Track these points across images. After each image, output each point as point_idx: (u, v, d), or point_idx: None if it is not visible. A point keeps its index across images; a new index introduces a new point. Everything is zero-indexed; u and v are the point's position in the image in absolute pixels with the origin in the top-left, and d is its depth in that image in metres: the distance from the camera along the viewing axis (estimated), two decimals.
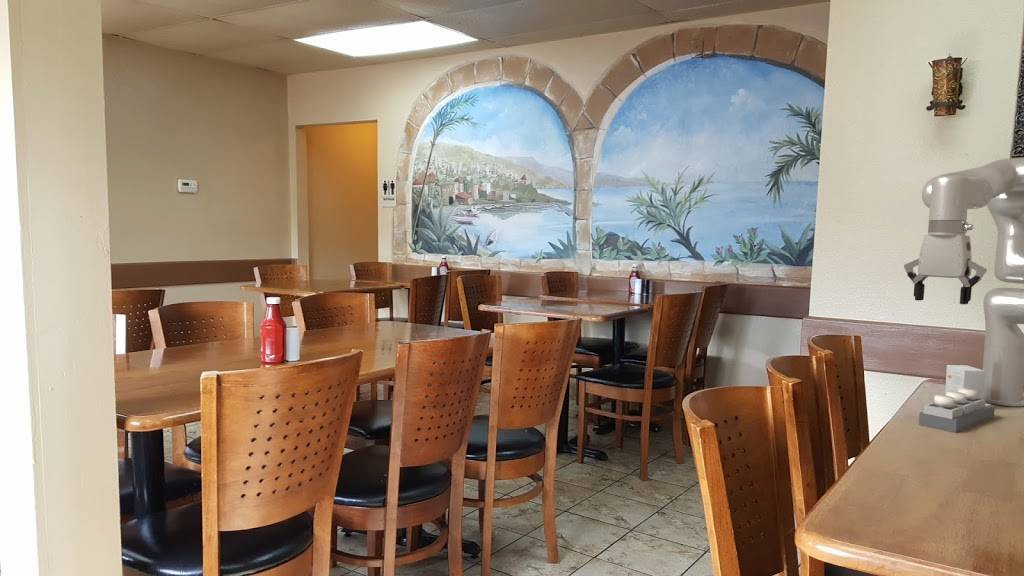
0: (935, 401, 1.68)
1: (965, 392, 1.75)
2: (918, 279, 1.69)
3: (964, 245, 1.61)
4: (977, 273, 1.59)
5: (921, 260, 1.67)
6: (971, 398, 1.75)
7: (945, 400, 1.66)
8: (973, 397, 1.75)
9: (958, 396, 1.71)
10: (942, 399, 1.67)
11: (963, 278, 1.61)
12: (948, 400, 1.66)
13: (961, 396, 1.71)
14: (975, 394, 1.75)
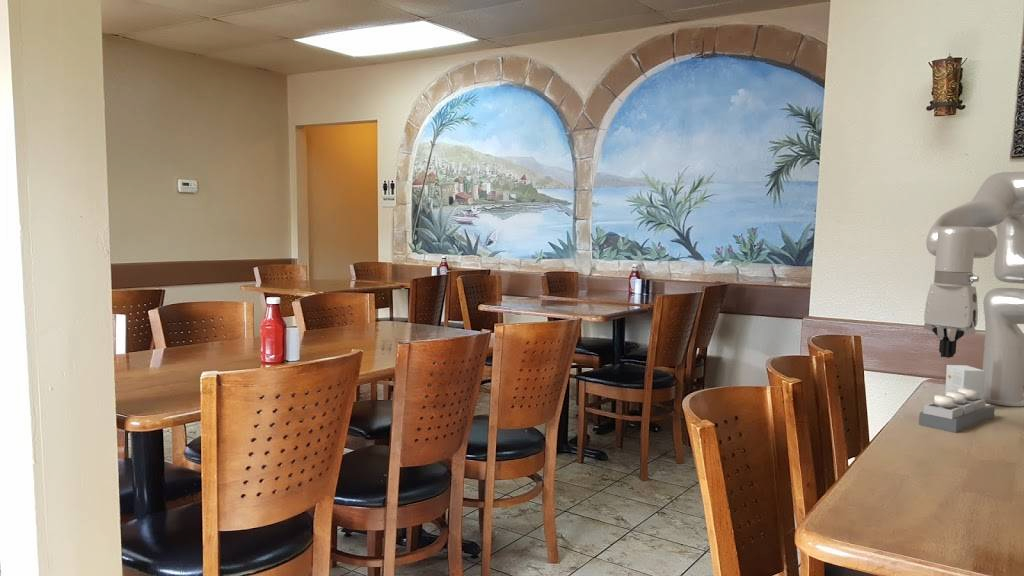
0: (935, 401, 1.68)
1: (965, 392, 1.75)
2: (941, 333, 1.67)
3: (970, 297, 1.62)
4: (965, 331, 1.64)
5: (927, 310, 1.68)
6: (971, 398, 1.75)
7: (945, 400, 1.66)
8: (973, 397, 1.75)
9: (958, 396, 1.71)
10: (942, 399, 1.67)
11: (954, 332, 1.65)
12: (948, 400, 1.66)
13: (961, 396, 1.71)
14: (975, 394, 1.75)
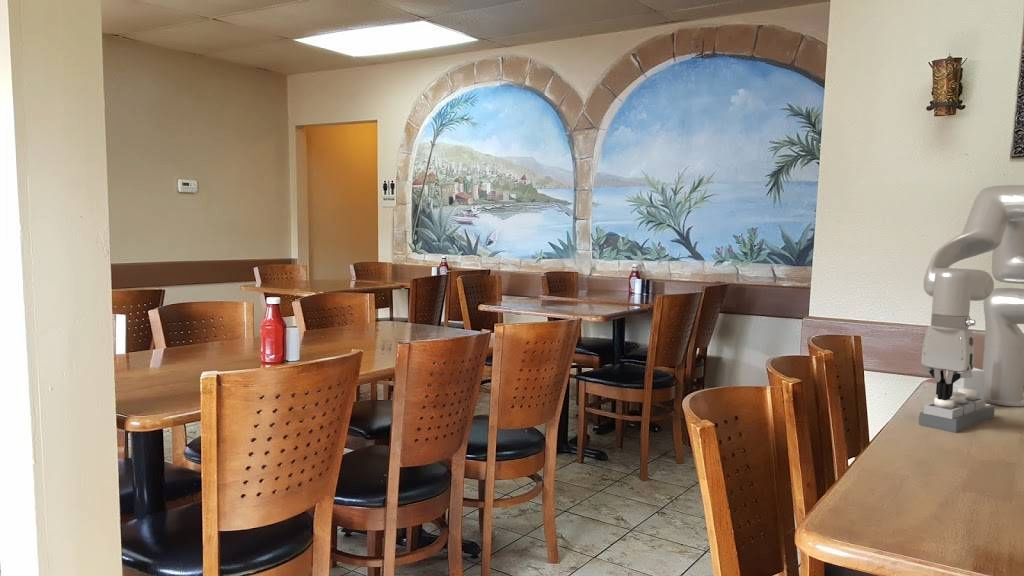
0: (935, 403, 1.68)
1: (965, 392, 1.75)
2: (938, 376, 1.68)
3: (967, 341, 1.62)
4: (962, 374, 1.64)
5: (924, 352, 1.69)
6: (971, 398, 1.75)
7: (945, 402, 1.66)
8: (973, 397, 1.75)
9: (958, 396, 1.71)
10: (942, 401, 1.67)
11: (951, 375, 1.65)
12: (948, 402, 1.66)
13: (961, 396, 1.71)
14: (975, 394, 1.75)
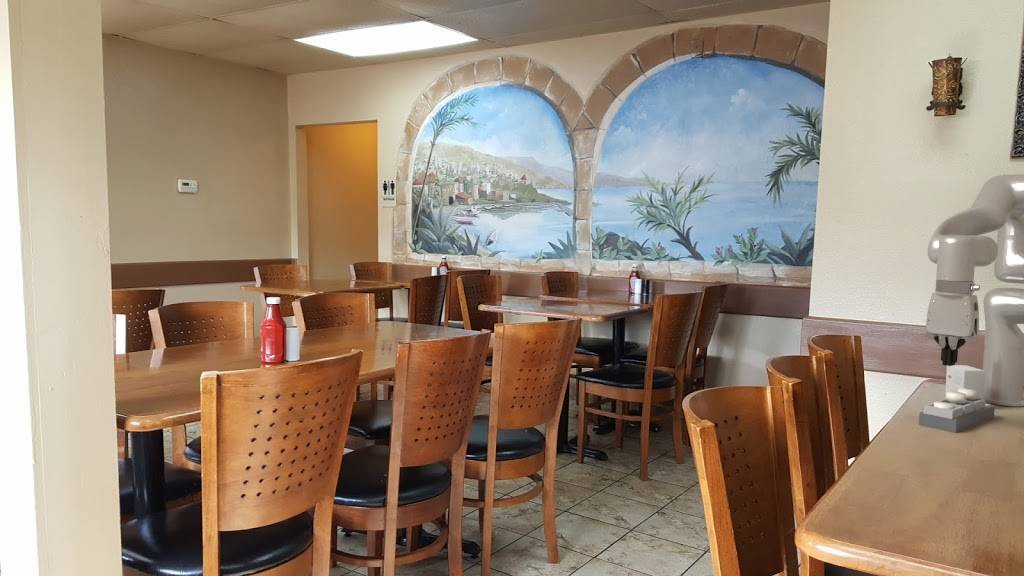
0: None
1: (965, 392, 1.75)
2: (943, 342, 1.68)
3: (971, 306, 1.63)
4: (966, 339, 1.65)
5: (929, 318, 1.69)
6: (971, 398, 1.75)
7: (945, 407, 1.67)
8: (973, 397, 1.75)
9: (958, 396, 1.71)
10: (942, 406, 1.67)
11: (955, 341, 1.66)
12: (948, 407, 1.66)
13: (961, 396, 1.71)
14: (975, 394, 1.75)
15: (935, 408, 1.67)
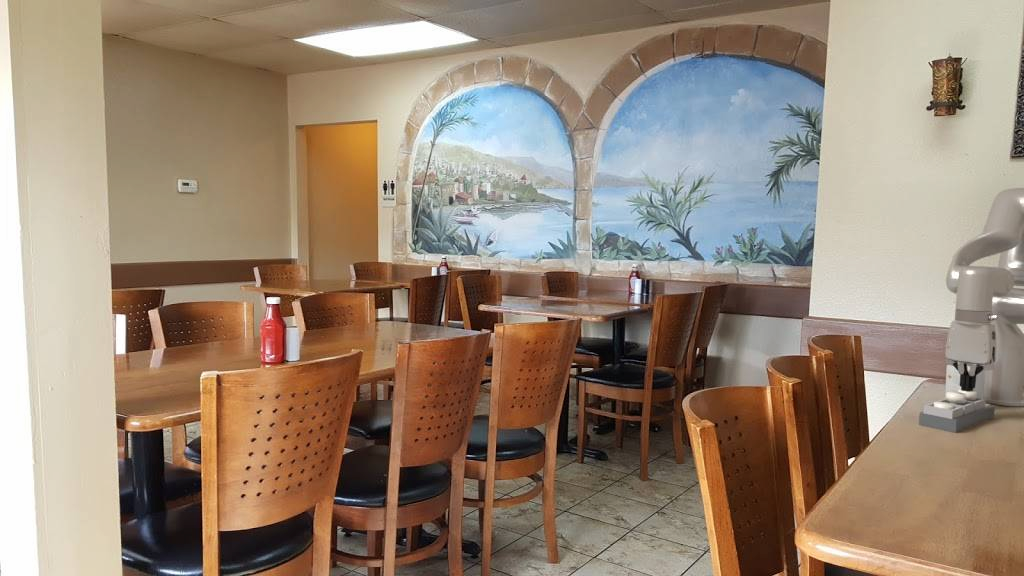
0: None
1: (965, 392, 1.75)
2: (962, 368, 1.76)
3: (990, 335, 1.71)
4: (984, 366, 1.73)
5: (948, 345, 1.78)
6: (971, 398, 1.75)
7: (945, 407, 1.67)
8: (973, 397, 1.75)
9: (958, 396, 1.71)
10: (942, 406, 1.67)
11: (974, 368, 1.74)
12: (948, 407, 1.66)
13: (961, 396, 1.71)
14: (975, 394, 1.75)
15: (935, 408, 1.67)
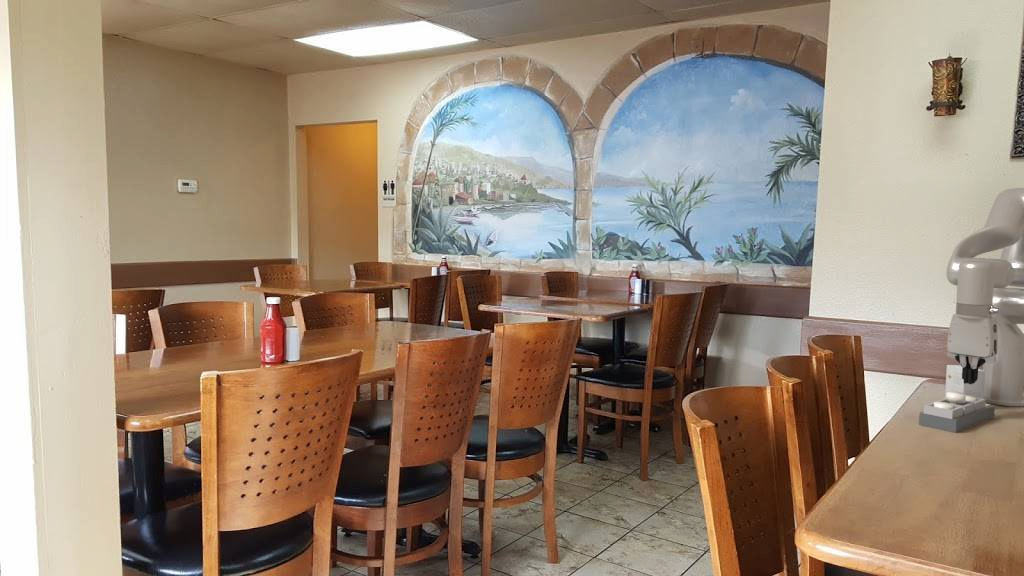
0: None
1: None
2: (964, 361, 1.77)
3: (991, 328, 1.71)
4: (986, 359, 1.73)
5: (950, 339, 1.78)
6: None
7: (945, 407, 1.67)
8: None
9: (958, 396, 1.71)
10: (942, 406, 1.67)
11: (976, 361, 1.75)
12: (948, 407, 1.66)
13: (961, 396, 1.71)
14: (975, 400, 1.75)
15: (935, 408, 1.67)
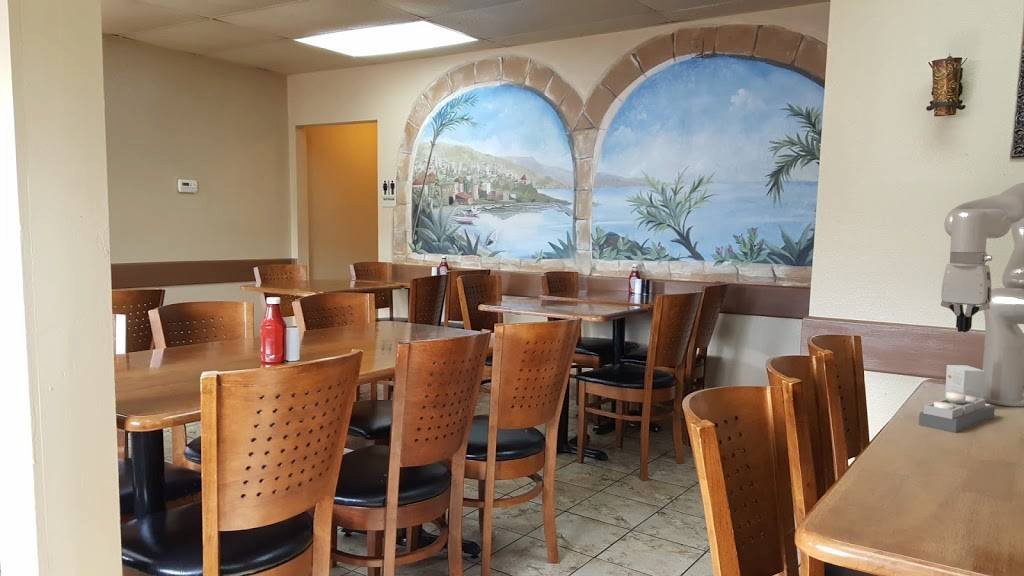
0: None
1: None
2: (958, 310, 1.79)
3: (985, 275, 1.74)
4: (980, 307, 1.76)
5: (944, 288, 1.80)
6: None
7: (945, 407, 1.67)
8: None
9: (958, 396, 1.71)
10: (942, 406, 1.67)
11: (970, 309, 1.77)
12: (948, 407, 1.66)
13: (961, 396, 1.71)
14: (975, 400, 1.75)
15: (935, 408, 1.67)
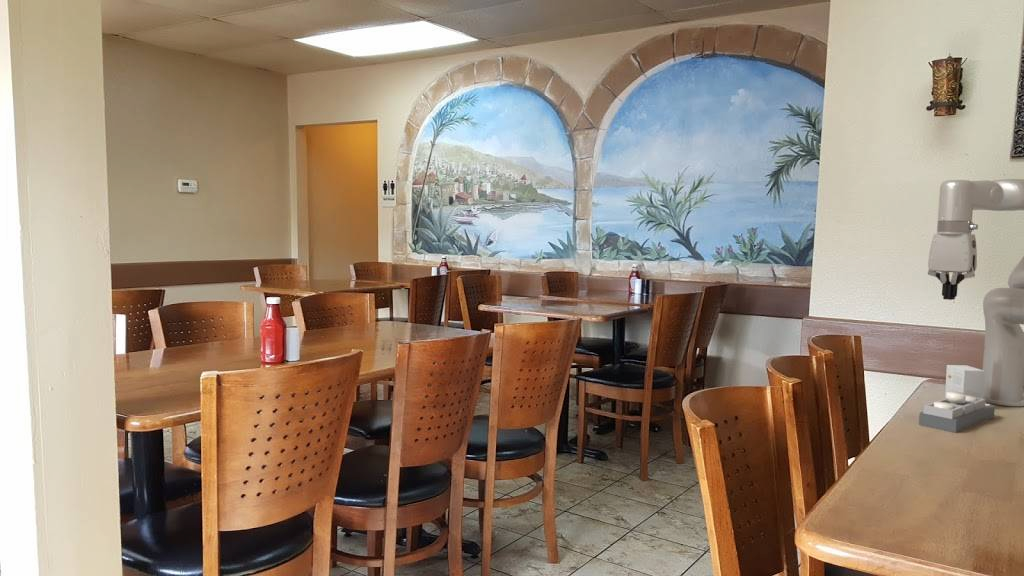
0: None
1: None
2: (944, 278, 1.83)
3: (970, 243, 1.78)
4: (965, 274, 1.80)
5: (931, 257, 1.85)
6: None
7: (945, 407, 1.67)
8: None
9: (958, 396, 1.71)
10: (942, 406, 1.67)
11: (955, 276, 1.81)
12: (948, 407, 1.66)
13: (961, 396, 1.71)
14: (975, 400, 1.75)
15: (935, 408, 1.67)
